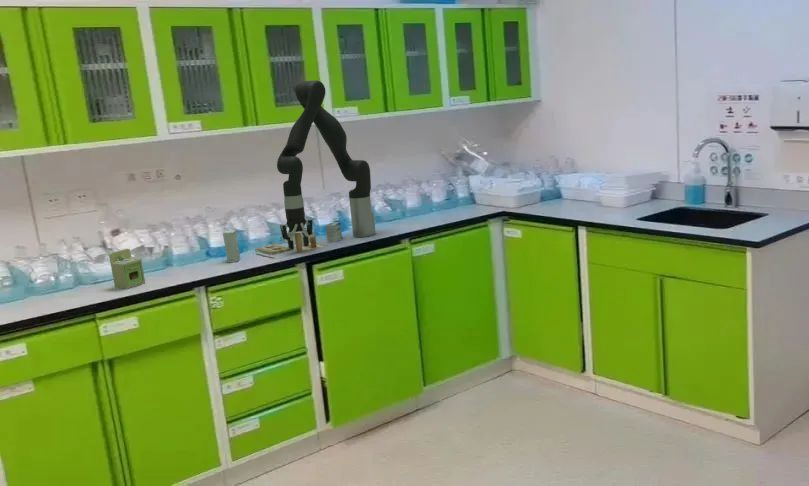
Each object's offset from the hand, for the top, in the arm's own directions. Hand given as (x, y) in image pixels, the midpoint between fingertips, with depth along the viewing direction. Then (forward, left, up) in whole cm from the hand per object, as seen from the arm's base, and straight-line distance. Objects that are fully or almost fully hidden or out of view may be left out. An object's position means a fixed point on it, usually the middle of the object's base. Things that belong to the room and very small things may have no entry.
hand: (299, 247), depth 305 cm
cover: (-11, -18, -3) cm, 21 cm away
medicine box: (-21, -6, -3) cm, 22 cm away
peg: (0, 0, -3) cm, 3 cm away
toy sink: (+64, -14, -3) cm, 66 cm away
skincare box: (+21, -17, -3) cm, 27 cm away
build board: (+5, -12, -3) cm, 13 cm away
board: (-8, -5, -3) cm, 10 cm away
